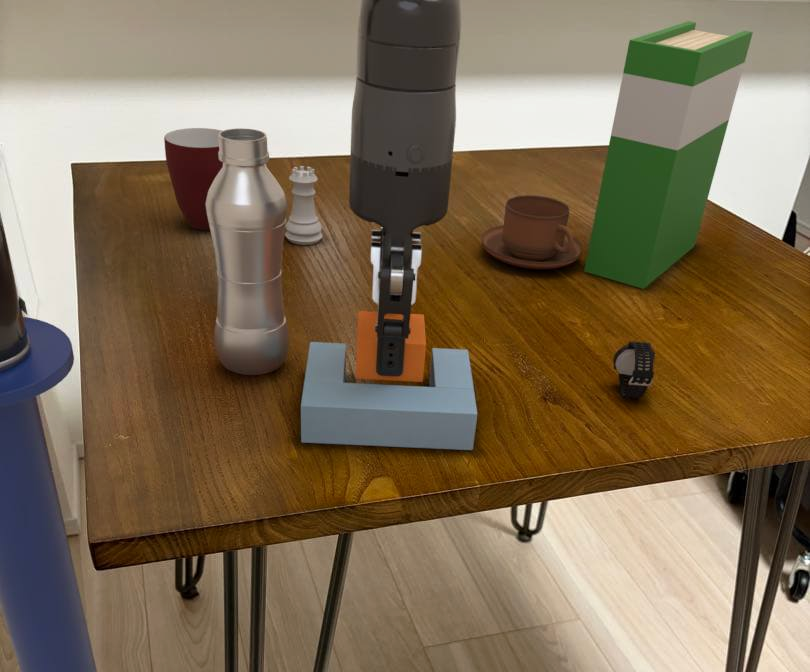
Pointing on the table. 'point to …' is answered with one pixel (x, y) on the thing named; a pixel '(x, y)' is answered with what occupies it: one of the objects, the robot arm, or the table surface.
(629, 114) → the hardback book
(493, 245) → the cup and saucer
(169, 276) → the table surface
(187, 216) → the mug
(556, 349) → the table surface
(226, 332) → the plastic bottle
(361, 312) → the orange block
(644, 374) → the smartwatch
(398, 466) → the table surface
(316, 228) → the rook chess piece
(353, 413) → the light blue u-shaped block
